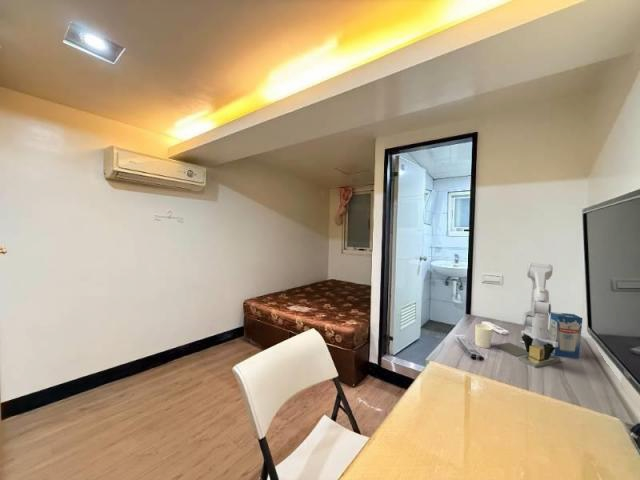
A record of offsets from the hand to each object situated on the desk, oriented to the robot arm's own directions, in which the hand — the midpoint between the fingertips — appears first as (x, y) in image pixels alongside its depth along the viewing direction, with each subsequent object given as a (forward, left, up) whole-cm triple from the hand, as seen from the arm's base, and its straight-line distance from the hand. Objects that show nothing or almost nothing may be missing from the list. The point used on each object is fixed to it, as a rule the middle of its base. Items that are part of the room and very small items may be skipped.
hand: (537, 355), depth 126 cm
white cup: (+10, -20, -3) cm, 23 cm away
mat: (-1, -12, -3) cm, 12 cm away
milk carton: (-21, -1, -3) cm, 21 cm away
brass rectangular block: (0, 0, -3) cm, 3 cm away
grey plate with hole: (-2, 0, -3) cm, 3 cm away
